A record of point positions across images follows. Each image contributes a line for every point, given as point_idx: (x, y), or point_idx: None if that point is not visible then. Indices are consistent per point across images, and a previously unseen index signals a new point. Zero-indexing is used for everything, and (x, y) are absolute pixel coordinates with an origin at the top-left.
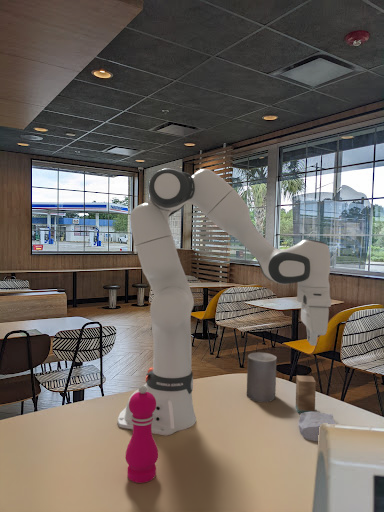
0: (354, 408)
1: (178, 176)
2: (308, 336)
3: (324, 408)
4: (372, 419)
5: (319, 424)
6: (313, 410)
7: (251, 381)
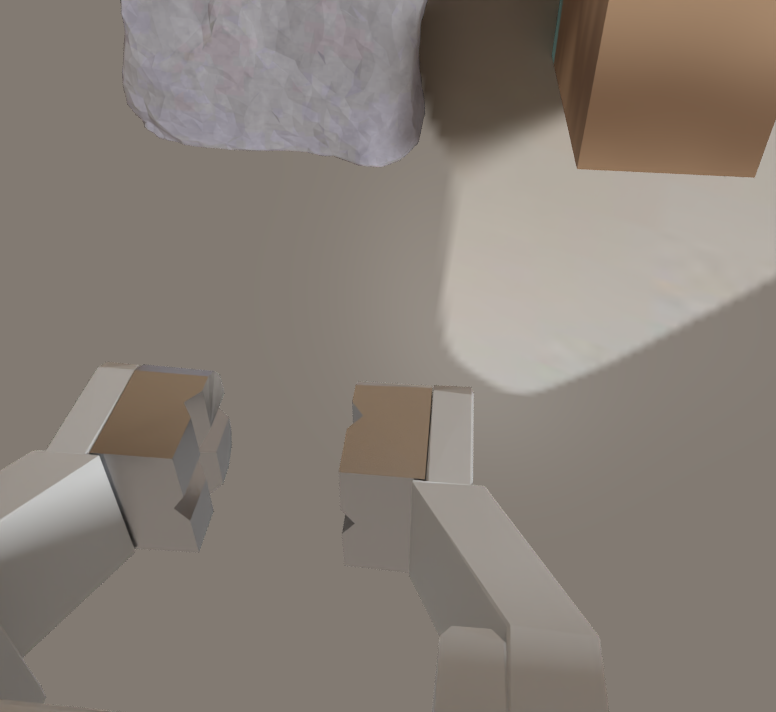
0: (638, 332)
1: None
2: (339, 476)
3: None
4: (490, 367)
5: (152, 26)
6: (554, 54)
7: None
